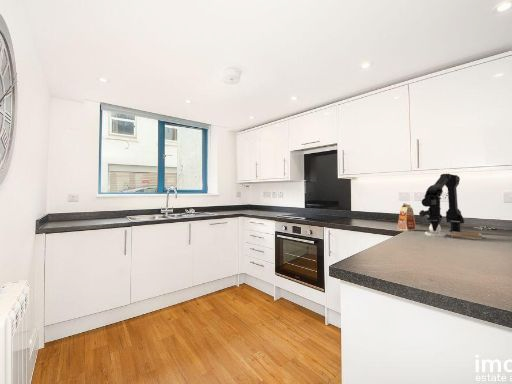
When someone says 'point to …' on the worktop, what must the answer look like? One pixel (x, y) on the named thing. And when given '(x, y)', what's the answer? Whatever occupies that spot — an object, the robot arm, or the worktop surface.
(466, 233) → the tray
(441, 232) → the white faceted hoop
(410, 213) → the milk carton
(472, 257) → the worktop surface
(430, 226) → the egg
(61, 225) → the worktop surface
